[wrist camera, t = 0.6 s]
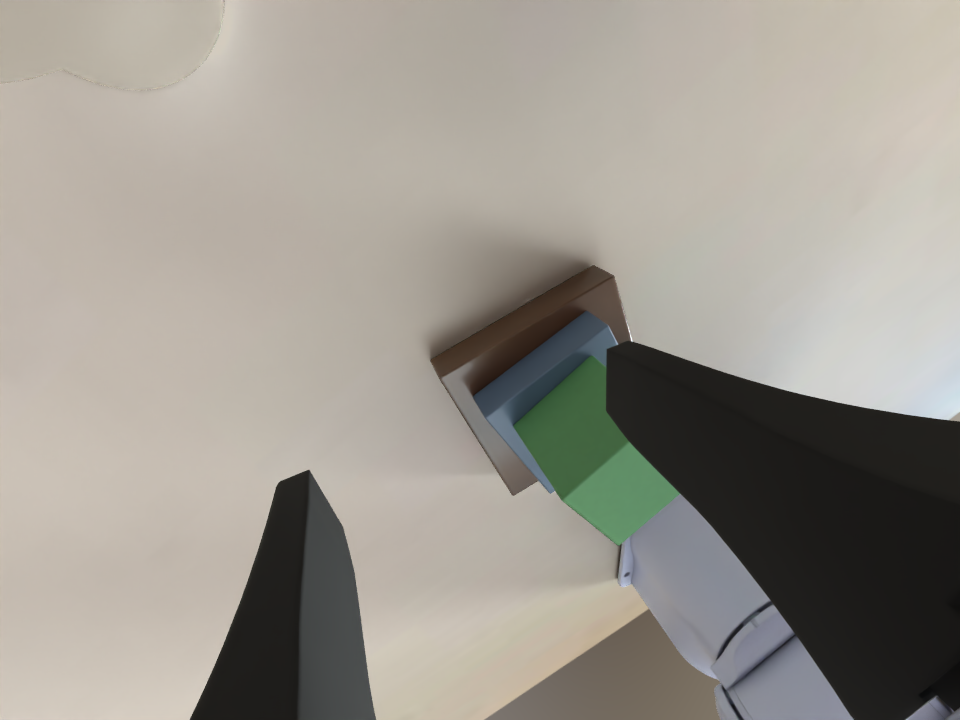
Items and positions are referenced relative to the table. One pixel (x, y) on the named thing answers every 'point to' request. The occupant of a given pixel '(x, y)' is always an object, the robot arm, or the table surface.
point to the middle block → (541, 380)
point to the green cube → (593, 456)
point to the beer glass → (108, 40)
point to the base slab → (523, 355)
